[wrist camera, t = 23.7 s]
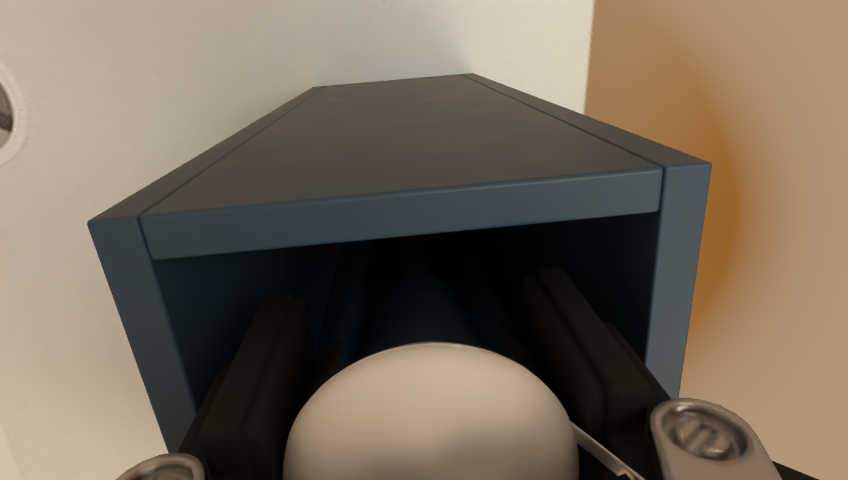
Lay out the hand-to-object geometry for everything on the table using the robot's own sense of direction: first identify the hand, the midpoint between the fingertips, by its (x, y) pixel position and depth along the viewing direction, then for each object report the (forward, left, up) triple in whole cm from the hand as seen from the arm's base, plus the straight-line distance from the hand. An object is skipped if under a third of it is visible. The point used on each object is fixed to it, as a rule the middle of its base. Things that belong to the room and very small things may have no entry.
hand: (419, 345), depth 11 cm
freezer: (+1, 0, -23) cm, 24 cm away
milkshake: (0, 0, -5) cm, 5 cm away
